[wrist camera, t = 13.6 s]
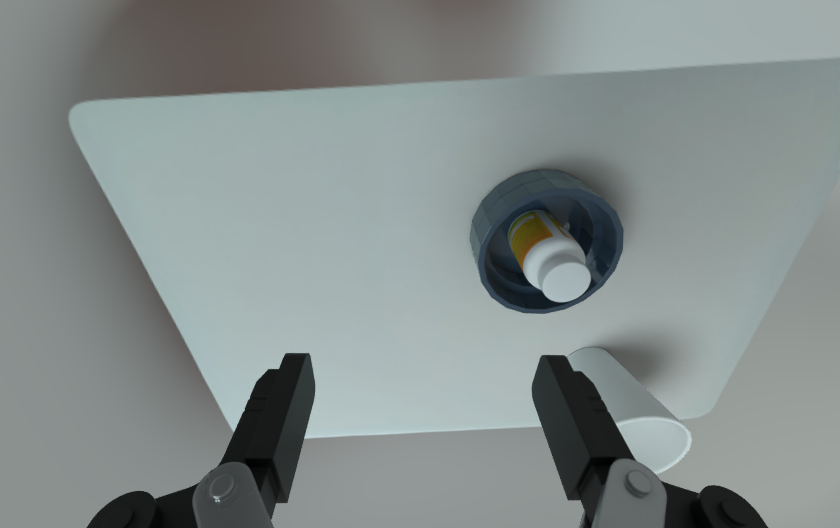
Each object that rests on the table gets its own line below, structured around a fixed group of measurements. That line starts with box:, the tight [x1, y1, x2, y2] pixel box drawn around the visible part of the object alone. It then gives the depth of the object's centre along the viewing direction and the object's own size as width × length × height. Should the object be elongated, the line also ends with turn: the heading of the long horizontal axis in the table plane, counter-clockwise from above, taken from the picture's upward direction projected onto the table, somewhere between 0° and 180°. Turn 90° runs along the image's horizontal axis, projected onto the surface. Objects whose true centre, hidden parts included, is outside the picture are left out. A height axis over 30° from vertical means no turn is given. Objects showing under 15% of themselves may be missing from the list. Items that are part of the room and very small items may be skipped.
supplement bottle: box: [508, 210, 591, 302], centre depth 33 cm, size 5×5×10 cm
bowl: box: [470, 170, 623, 314], centre depth 36 cm, size 13×13×6 cm
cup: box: [567, 347, 692, 474], centre depth 44 cm, size 12×12×12 cm
